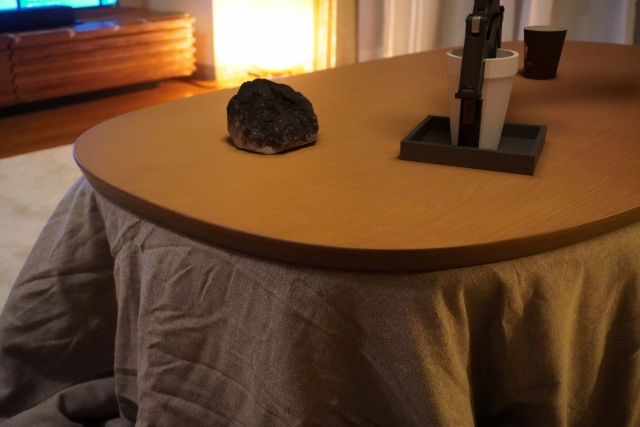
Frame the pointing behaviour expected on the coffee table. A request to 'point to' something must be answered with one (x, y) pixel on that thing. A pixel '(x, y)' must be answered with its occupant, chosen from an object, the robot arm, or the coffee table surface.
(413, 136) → the tray
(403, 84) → the coffee table surface
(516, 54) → the foam cup
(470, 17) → the robot arm
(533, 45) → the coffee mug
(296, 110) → the crystal cluster
